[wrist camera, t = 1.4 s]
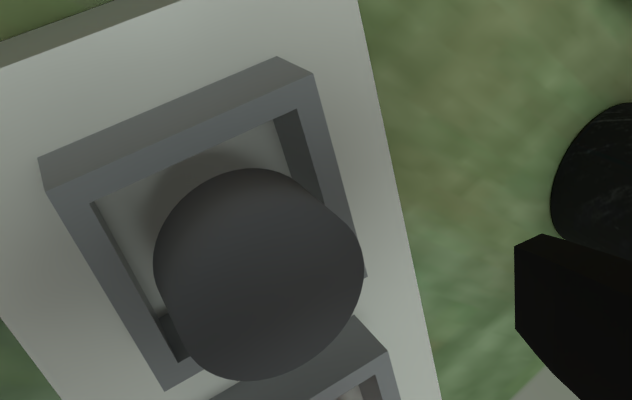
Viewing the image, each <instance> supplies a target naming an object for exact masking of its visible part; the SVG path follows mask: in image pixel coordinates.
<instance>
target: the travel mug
mask: <svg viewBox="0 0 632 400" xmlns="http://www.w3.org/2000/svg"><path fill="white" fill-rule="evenodd" d="M551 216H552V220H553V223H554V226H555V228H556V230H557V231H558V233H559V234H560V235H561V236H562V237H563V238H564V239H565V240H566V241H570V242H573V243H576V244H579V245H582V246H586V247H589V248H592V249H595V250H598V251H601V252H605V253H608V254H611V255H614V256H617V257H620V258H623V259H626V260H630V261H632V103H625V104H620V105H617V106H614V107H612V108H610V109H608V110H606V111H605V112H603V113H601V114H600V115H599V116H597V117H596V118H595V119H593V120H592V121H591V122H590V123H589V124H588V125H587V126H586V127H585V128H584V129H583V130H582V132H581V133H580V134H579V135H578V136H577V138H576V139H575V140H574V142H573V143H572V145H571V146H570V148H569V149H568V151H567V153H566V155H565V156H564V158H563V160H562V162H561V165H560V167H559V169H558V172H557V175H556V178H555V181H554V185H553V189H552V196H551Z"/></svg>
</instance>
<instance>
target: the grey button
mask: <svg viewBox="0 0 632 400" xmlns="http://www.w3.org/2000/svg"><path fill="white" fill-rule="evenodd" d="M153 275H154V279H155V283H156V286H157V288H158V291H159V293H160V295H161V297H162V300H163V302H164V304H165V306H166V308H167V310H168V312H169V315H170V317H171V319H172V321H173V323H174V325H175V327H176V330H177V332H178V334H179V336H180V338H181V340H182V342H183V345H184V347H185V349H186V350H187V352H188V353H189V355H190V356H191V358H192V359H193V360H194V361H195V362H196V363H197V364H198V365H199V366H201V367H202V368H203V369H205V370H206V371H208V372H210V373H212V374H214V375H216V376H218V377H222V378H225V379H229V380H235V381H258V380H264V379H269V378H273V377H276V376H279V375H282V374H285V373H287V372H290V371H292V370H294V369H296V368H298V367H300V366H302V365H303V364H305V363H307V362H308V361H310V360H311V359H313V358H314V357H315V356H317V355H318V354H319V353H320V352H322V351H323V350H324V349H325V348H326V347H327V346H328V345H329V344H330V343H331V342H332V341H333V340H334V339H335V338H336V337H337V336H338V334H339V333H340V332H341V331H342V329H343V328H344V326H345V325H346V324H347V322H348V320H349V319H350V317H351V315H352V314H353V312H354V309H355V307H356V305H357V303H358V300H359V297H360V294H361V290H362V285H363V280H364V259H363V254H362V250H361V247H360V244H359V241H358V240H357V238H356V236H355V234H354V232H353V231H352V230H351V229H350V227H349V226H348V225H347V224H346V223H345V222H344V221H343V220H341V219H340V218H339V217H338V216H337V215H336V214H334V213H333V212H332V211H331V210H330V209H328V208H327V207H326V206H325V205H324V204H323V203H321V202H320V201H319V200H318V199H317V198H316V197H314V196H313V195H312V194H311V193H310V192H308V191H307V190H306V189H305V188H304V187H303V186H301V185H300V184H299V183H298V182H296V181H295V180H293V179H292V178H290V177H289V176H286V175H284V174H282V173H280V172H276V171H273V170H269V169H261V168H246V169H238V170H233V171H230V172H226V173H223V174H220V175H218V176H215V177H213V178H211V179H209V180H207V181H205V182H203V183H202V184H200V185H199V186H197V187H196V188H194V189H193V190H192V191H190V192H189V193H188V194H187V195H186V196H185V197H184V198H182V199H181V200H180V201H179V203H178V204H177V205H176V206H175V207H174V208H173V209H172V211H171V212H170V214H169V215H168V217H167V218H166V220H165V222H164V223H163V225H162V227H161V229H160V231H159V234H158V237H157V240H156V243H155V248H154V252H153Z"/></svg>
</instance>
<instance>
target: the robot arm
mask: <svg viewBox="0 0 632 400" xmlns="http://www.w3.org/2000/svg"><path fill="white" fill-rule="evenodd" d="M514 273H515V329H516V330H517V332H518V333H519V334H520V335H521V336H522V338H523V339H524V340H525V341H526V343H527V344H528V345H529V346H530V348H531V349H532V350H533V351H534V352H535V354H536V355H537V356H538V357H539V358H540V359H541V360H542V362H543V363H544V364H545V365H546V366H547V367H548V369H549V370H550V371H551V372H552V373H553V374H554V375H555V376H556V377H557V378H558V379H559V380H560V381H561V382H562V383H563V384H564V385H566V386H567V387H568V388H569V389H570V390H571V391H572V392H573V393H574V394H575V395H576V396H577V397H578V398H579V399H580V400H632V261H630V260H626V259H623V258H620V257H617V256H614V255H611V254H608V253H605V252H601V251H598V250H595V249H592V248H589V247H586V246H582V245H579V244H576V243H573V242H570V241H566V240H563V239H559V238H556V237H552V236H549V235H545V234H540V235H538V236H535V237H533V238H531V239H529V240H527V241H525V242H522V243H520V244H518V245H516V246H514Z"/></svg>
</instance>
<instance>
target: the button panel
mask: <svg viewBox="0 0 632 400" xmlns="http://www.w3.org/2000/svg"><path fill="white" fill-rule="evenodd" d="M246 168H261V169H269V170H273V171H276V172H280V173H282V174H284V175H286V176H289V177H290V178H292V179H293V180H295V181H296V182H298V183H299V184H300V185H301V186H303V187H304V188H305V189H306V190H307V191H308V192H310V193H311V194H312V195H313V196H314V197H316V198H317V199H318V200H319V201H320V202H321V203H323V204H324V205H325V206H326V207H327V208H328V209H330V210H331V211H332V212H333V213H334V214H336V215H337V216H338V217H339V218H340V219H341V220H343V221H344V222H345V223H346V224H347V225H348V226H349V227H350V229H351V230H352V231H353V232H354V234H355V236H356V238H357V240H358V241H359V244H360V247H361V250H362V254H363V259H364V280H363V285H362V290H361V294H360V297H359V300H358V303H357V305H356V307H355V309H354V312H353V314H352V315H351V317H350V319H349V320H348V322H347V324H346V325H345V326H344V328H343V329H342V331H341V332H340V333H339V334H338V336H337V337H336V338H335V339H334V340H333V341H332V342H331V343H330V344H329V345H328V346H327V347H326V348H325V349H324V350H323V351H322V352H320V353H319V354H318V355H317V356H315V357H314V358H313V359H311V360H310V361H308V362H307V363H305V364H303V365H302V366H300V367H298V368H296V369H294V370H292V371H290V372H287V373H285V374H282V375H279V376H276V377H273V378H269V379H264V380H258V381H235V380H229V379H225V378H222V377H218V376H216V375H214V374H212V373H210V372H208V371H206V370H205V369H203V368H202V367H201V366H199V365H198V364H197V363H196V362H195V361H194V360H193V359H192V358H191V356H190V355H189V353H188V352H187V350H186V349H185V347H184V345H183V342H182V340H181V338H180V336H179V334H178V332H177V330H176V327H175V325H174V323H173V321H172V319H171V317H170V315H169V312H168V310H167V308H166V306H165V304H164V302H163V300H162V297H161V295H160V293H159V291H158V288H157V286H156V283H155V279H154V275H153V252H154V248H155V243H156V240H157V237H158V234H159V231H160V229H161V227H162V225H163V223H164V222H165V220H166V218H167V217H168V215H169V214H170V212H171V211H172V209H173V208H174V207H175V206H176V205H177V204H178V203H179V201H180V200H181V199H182V198H184V197H185V196H186V195H187V194H188V193H189V192H190V191H192V190H193V189H194V188H196V187H197V186H199V185H200V184H202V183H203V182H205V181H207V180H209V179H211V178H213V177H215V176H218V175H220V174H223V173H226V172H230V171H233V170H238V169H246ZM0 318H1V319H2V320H3V322H4V323H5V324H6V326H7V327H8V328H9V330H10V331H11V332H12V334H13V335H14V336H15V338H16V339H17V340H18V342H19V343H20V344H21V346H22V347H23V348H24V350H25V351H26V352H27V354H28V355H29V356H30V358H31V359H32V360H33V362H34V363H35V364H36V366H37V367H38V368H39V370H40V371H41V372H42V374H43V375H44V376H45V378H46V379H47V380H48V382H49V383H50V384H51V386H52V387H53V388H54V390H55V391H56V392H57V394H58V395H59V396H60V398H61V399H62V400H442V398H441V394H440V389H439V384H438V379H437V375H436V370H435V365H434V360H433V356H432V351H431V346H430V342H429V337H428V332H427V327H426V323H425V318H424V313H423V308H422V304H421V299H420V294H419V290H418V285H417V280H416V275H415V271H414V266H413V261H412V256H411V252H410V247H409V242H408V238H407V233H406V228H405V223H404V219H403V214H402V209H401V204H400V200H399V195H398V190H397V185H396V181H395V176H394V171H393V167H392V162H391V157H390V152H389V148H388V143H387V138H386V133H385V129H384V124H383V119H382V115H381V110H380V105H379V100H378V96H377V91H376V86H375V81H374V77H373V72H372V67H371V63H370V58H369V53H368V48H367V44H366V39H365V34H364V29H363V25H362V20H361V15H360V11H359V6H358V1H357V0H114V1H111V2H109V3H106V4H103V5H100V6H98V7H95V8H92V9H89V10H87V11H84V12H81V13H78V14H76V15H73V16H70V17H67V18H65V19H62V20H59V21H56V22H54V23H51V24H48V25H45V26H43V27H40V28H37V29H34V30H32V31H29V32H26V33H23V34H21V35H18V36H15V37H12V38H10V39H7V40H4V41H1V42H0Z"/></svg>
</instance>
